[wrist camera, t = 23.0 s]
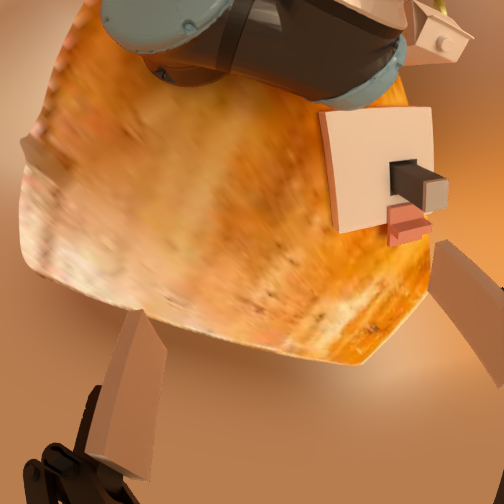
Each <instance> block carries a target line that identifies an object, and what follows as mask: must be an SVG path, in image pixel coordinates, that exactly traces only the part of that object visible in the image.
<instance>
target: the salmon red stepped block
mask: <svg viewBox="0 0 504 504" xmlns="http://www.w3.org/2000/svg"><path fill="white" fill-rule="evenodd" d="M423 216H424V212H423V211H422V210H421V209H419V208H418V207H416V206H415V205H413V204H412V203H410V202H409V203H404V204H399V205H394V206H389V207H388V225H387V245H388V246H389V247H393V246H397V245H401V244H405V243H408V242H412V241H416V240H420V239H422V234H426V233H430V232H432V223H430V222H429V221H428V220H426V219H425V218H424V217H423Z"/></svg>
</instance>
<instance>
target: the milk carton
mask: <svg viewBox="0 0 504 504" xmlns="http://www.w3.org/2000/svg"><path fill="white" fill-rule="evenodd" d="M403 8H404V11H405V15H406V19H407V23H408V25H407V27H406V29H405V30H404V31H403V32H402V35H403V36H404V38H405V40H406V43H407V57H406V61H405V63H404V66H409V65H419V64H431V63H432V64H433V63H454V62H456V61H457V60H458V58H459V56H460V55H461V53H462V51H463V50H464V48H465V46H466V44H467V43H468V41H469V39H475V38H474V37H472V36H471V35H469V34H468V33H466V32H464V31H463V30H462V29H461V28H460V27H459V26H458V25H457V24H456V22H455V21H454V20H453V19H451V18H450V17H448V16H446V15H444V14H442V13H440V12H438V11H437V10H435V9H433V8H431V7H428V6H426V5H424V4H422V3H420V2H418V1H415V0H408V1H406V2H404V3H403Z"/></svg>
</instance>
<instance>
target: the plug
mask: <svg viewBox="0 0 504 504" xmlns="http://www.w3.org/2000/svg"><path fill="white" fill-rule="evenodd" d="M389 170H390V189H391V190H392V191H394V192H395V193H397V194H398V195H400V196H401V197H403V198H404V199H406V200H407V201H409V202H410V203H412V204H413V205H415V206H416V207H418V208H419V209H421V210H422V211H423V212H425V213H427V212H432V211H436V210H441V209H445V208H447V201H448V183H449V180H448V179H446V178H444V177H442V176H440V175H438V174H436V173H434V172H432V171H430V170H428V169H425V168H423V167H421V166H419V165H416V164H414V163H412V162H410V161H407V160H401V161H393V162H389Z"/></svg>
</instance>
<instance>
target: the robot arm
mask: <svg viewBox="0 0 504 504" xmlns="http://www.w3.org/2000/svg"><path fill="white" fill-rule="evenodd" d="M403 1H404V0H102V2H101V8H100V15H101V21H102V24H103V27H104V28H105V30H106V32H107V33H108V35H109V36H110V37H111V38H112V39H114V40H115V41H116V43H117V44H119V45H120V46H121V47H122V48H124V49H125V50H127V51H132V52H133V53H137V54H139V55H141V56H143V59H144V61H145V64H146V65H147V67H148V68H149V70H150V71H151V72H152V73H153V74H154V75H155V76H156V77H158V78H159V79H161V80H163V81H165V82H167V83H170V84H172V85H176V86H181V87H198V86H203V85H207V84H210V83H213V82H215V81H217V80H219V79H221V78H222V77H224V76H225V75H227V74H228V73H230V74H233V75H236V76H240V77H243V78H247V79H250V80H254V81H257V82H260V83H263V84H267V85H270V86H273V87H276V88H279V89H281V90H284V91H287V92H290V93H293V94H295V95H298V96H301V97H302V98H304V99H305V100H307V101H309V102H314V103H318V104H323V105H326V106H329V107H331V108H334V109H336V110H341V111H353V110H357V109H361V108H363V107H365V106H367V105H369V104H371V103H373V102H374V101H376V100H377V99H378V98H379V97H381V96H382V95H383V94H384V93H385V92H386V91H387V90H388V89H389V88H390V87H391V86H392V84H393V83H394V82H395V80H396V79H397V77H398V76H399V74H398V72H397V70H398V69H399V68H401V67H403V66H404V63H405V61H406V57H407V43H406V40H405V38H404V36H403V35H402V32H403V31H404V30H405V29H406V27H407V25H408V23H407V19H406V15H405V11H404V8H403ZM427 291H428V292H429V293H430V294H431V295H432V296H433V298H434V299H435V300H436V301H437V303H438V304H439V305H440V306H441V308H442V309H443V310H444V311H445V313H446V314H447V315H448V316H449V318H450V319H451V320H452V322H453V323H454V324H455V326H456V327H457V328H458V330H459V331H460V332H461V334H462V335H463V337H464V338H465V339H466V341H467V342H468V343H469V345H470V346H471V348H472V349H473V350H474V352H475V353H476V355H477V356H478V358H479V359H480V361H481V362H482V364H483V365H484V367H485V368H486V370H487V371H488V373H489V374H490V376H491V378H492V379H493V381H494V383H495V384H496V386H497V387H498V389H500V388H501V387H503V386H504V288H503V287H502V288H500V287H499V286H498V285H497V284H496V283H495V282H494V281H493V280H492V279H491V278H490V277H489V276H488V275H487V274H486V273H485V272H483V271H482V270H481V269H480V268H479V267H478V266H477V265H476V264H475V263H474V262H473V261H472V260H470V259H469V258H468V257H467V256H466V255H465V254H464V253H462V252H461V251H460V250H459V249H458V248H457V247H456V246H454V245H453V244H452V243H451V242H449V241H448V240H444V241H440V242H437V243H435V250H434V257H433V263H432V269H431V275H430V280H429V285H428V290H427ZM166 357H167V350H166V348H165V346H164V345H163V343H162V342H161V340H160V338H159V337H158V335H157V333H156V331H155V330H154V328H153V326H152V325H151V323H150V321H149V319H148V318H147V316H146V314H145V312H144V310H143V309H141V310H135V311H130V312H128V313H127V316H126V318H125V321H124V323H123V326H122V329H121V331H120V334H119V337H118V340H117V342H116V345H115V348H114V351H113V354H112V357H111V360H110V363H109V366H108V369H107V372H106V375H105V378H104V381H103V384H102V385H96V386H95V387H94V389H93V390H92V392H91V393H90V395H89V396H88V400H87V403H86V406H85V407H86V409H85V410H84V413H83V418H82V420H81V424H80V427H79V431H78V435H77V438H76V442H75V446H74V450H73V452H72V451H70V450H69V449H68V448H66V447H65V446H63V445H62V444H60V443H52V444H49V445H48V446H47V447H46V448H45V450H44V452H43V454H42V459H41V462H40V461H38V460H37V459H31V460H29V461H28V462H27V463H26V464H25V466H24V469H23V480H24V488H25V495H26V501H27V504H59V503H58V501H61V502H62V504H140V503H139V502H138V500H137V499H136V498H135V496H134V495H133V493H132V492H131V490H130V489H129V488H128V486H127V484H126V483H125V482H124V481H123V475H124V476H126V477H128V478H130V479H133V480H140V481H149V482H150V474H151V464H152V453H153V445H154V437H155V428H156V421H157V413H158V406H159V399H160V393H161V387H162V381H163V374H164V369H165V363H166ZM493 504H504V471H503V475H502V478H501V482H500V485H499V488H498V491H497V494H496V498H495V500H494V503H493Z"/></svg>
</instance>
